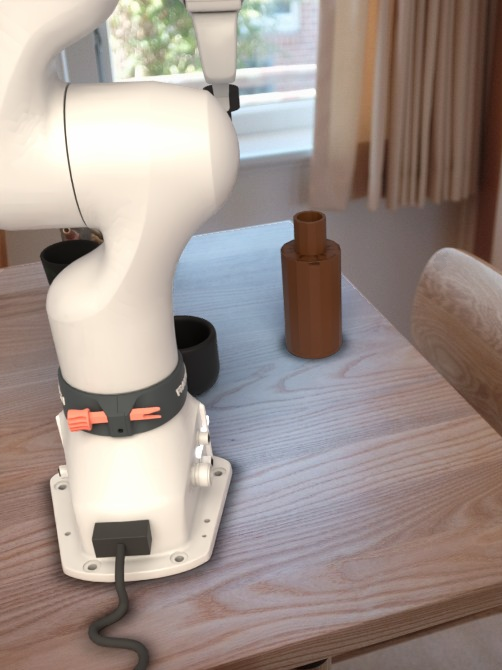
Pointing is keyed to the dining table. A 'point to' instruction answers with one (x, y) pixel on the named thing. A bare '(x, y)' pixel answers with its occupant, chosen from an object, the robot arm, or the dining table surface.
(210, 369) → the mug
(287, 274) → the bottle
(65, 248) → the cup
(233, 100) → the cylinder
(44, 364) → the dining table surface
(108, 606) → the dining table surface
